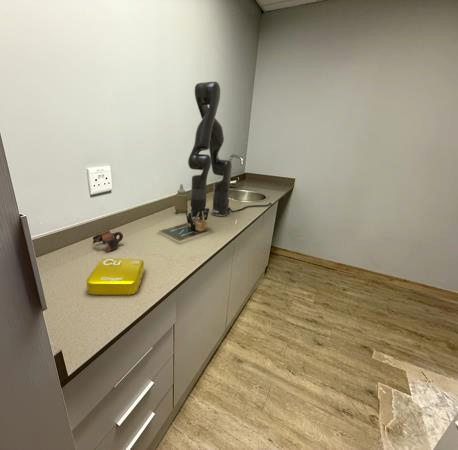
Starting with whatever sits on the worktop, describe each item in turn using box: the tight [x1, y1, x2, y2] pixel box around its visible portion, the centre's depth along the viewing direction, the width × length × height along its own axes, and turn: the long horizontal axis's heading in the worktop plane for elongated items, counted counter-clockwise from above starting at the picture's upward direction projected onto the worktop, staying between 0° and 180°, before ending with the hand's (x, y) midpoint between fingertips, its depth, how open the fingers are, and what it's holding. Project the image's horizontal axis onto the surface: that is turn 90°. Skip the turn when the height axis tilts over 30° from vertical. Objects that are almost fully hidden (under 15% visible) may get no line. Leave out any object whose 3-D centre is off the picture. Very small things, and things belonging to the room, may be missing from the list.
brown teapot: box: [92, 229, 124, 253], centre depth 102 cm, size 12×10×8 cm
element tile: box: [86, 258, 145, 296], centre depth 79 cm, size 15×15×5 cm
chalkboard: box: [159, 222, 213, 242], centre depth 121 cm, size 22×16×1 cm
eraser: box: [187, 217, 208, 234], centre depth 122 cm, size 5×9×5 cm, turn 45°
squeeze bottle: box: [174, 183, 189, 215], centre depth 147 cm, size 8×8×18 cm
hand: (197, 229), depth 122 cm, fingers closed on eraser, 5 cm apart
